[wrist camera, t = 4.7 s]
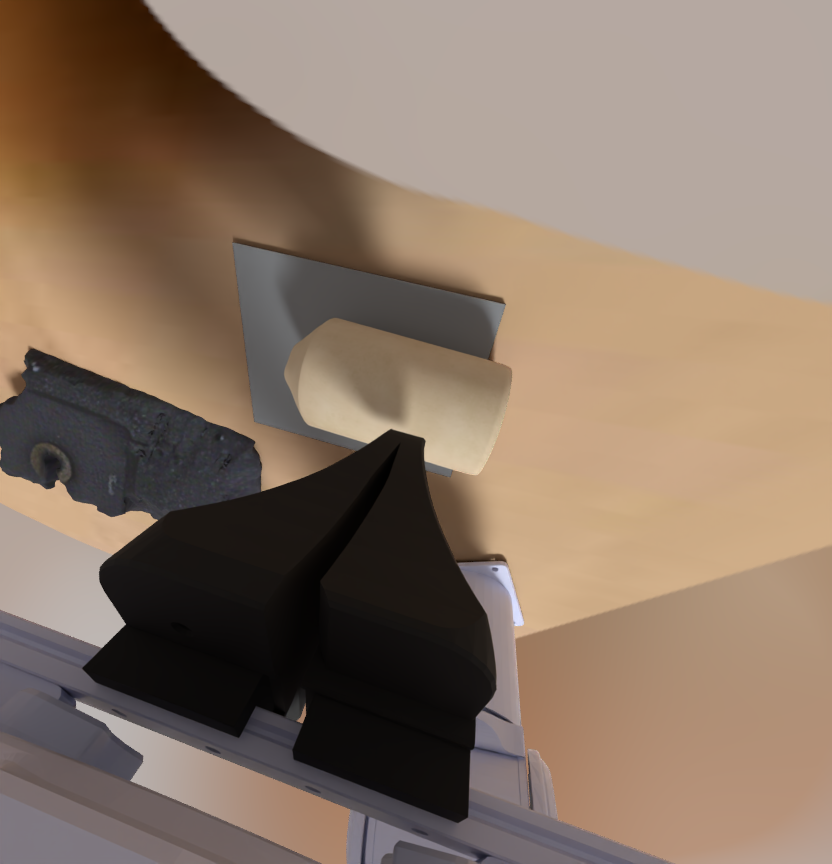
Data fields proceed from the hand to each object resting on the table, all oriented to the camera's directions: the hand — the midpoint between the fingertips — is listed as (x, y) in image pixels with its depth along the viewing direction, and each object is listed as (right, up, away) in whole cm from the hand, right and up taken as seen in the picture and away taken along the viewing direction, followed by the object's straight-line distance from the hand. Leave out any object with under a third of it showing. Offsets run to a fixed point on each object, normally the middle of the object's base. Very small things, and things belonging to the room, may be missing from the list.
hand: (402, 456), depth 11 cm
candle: (+4, +1, +4) cm, 6 cm away
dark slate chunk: (-23, -1, +16) cm, 28 cm away
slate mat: (-3, +4, +7) cm, 9 cm away
